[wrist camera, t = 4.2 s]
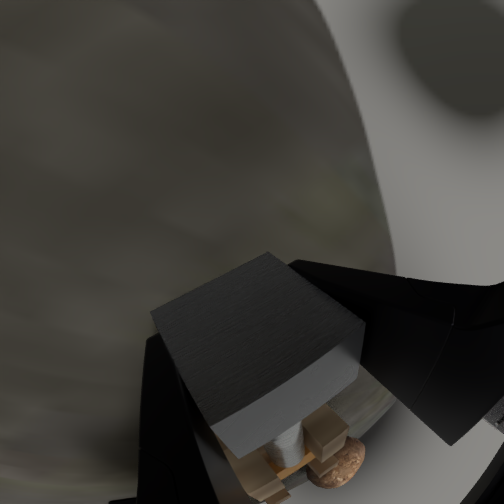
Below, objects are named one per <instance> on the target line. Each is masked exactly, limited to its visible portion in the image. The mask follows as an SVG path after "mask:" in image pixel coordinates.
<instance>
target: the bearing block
mask: <svg viewBox="0 0 504 504" xmlns="http://www.w3.org/2000/svg"><path fill="white" fill-rule="evenodd" d="M302 428H303V437H304V445H305V446H306V447H307V448H308V449H309V450H310V451H311V452H312V454H313V455H314V456H315V457H316V458H314V459H313V460H311V461H310V462H308V463H307V464H308V465H309V467H310V468H311V469H312V470H313V471H314V472H315V473H316V474H317V475H318V476H319V477H322V476H323V475H324V474H326V473H327V472H329V471H330V470H331V469H333V468H334V467H335V466H337V465H338V462H339V460H338V459H337V458H336V457H335V456H334V455H333V454H335V453H336V452H337V451H338V450H340V449H341V448H342V447H344V443H345V440H346V437H347V434H348V430H349V426H348V425H347V424H346V423H345V422H344V421H343V420H342V419H341V418H340V417H339V416H338V415H337V414H336V413H335V412H334V411H333V410H332V409H331V408H330V407H329V406H328V405H327V404H326V403H325V404H323V405H322V406H321V407H319V408H318V409H317V410H315V411H314V412H312V413H311V414H310V415H308V416H307V417H305V418H304V419H303V420H302ZM214 433H215V432H214ZM215 435H216V434H215ZM216 437H217V439H218V441H219V443H220V445H221V447H222V449H223V451H224V453H225V455H226V457H227V459H228V461H229V463H230V465H231V467H232V469H233V470H234V472H235V474H236V476H237V478H238V480H239V481H240V483H241V485H242V487H243V488H244V490H245V491H246V493H247V494H248V495H250V496H251V497H253V498H255V499H257V500H258V501H260V502H261V501H263V500H265V501H266V503H267V504H280V503H281V502H283V501H285V500H286V499H288V498H290V497H291V495H290V494H289V493H288V492H287V490H286V489H285V486H284V485H283V483H282V482H281V480H280V479H279V477H278V476H277V475H276V473H275V472H274V471H273V470H272V468H271V467H270V466H269V463H271V462H272V461H271V459H270V458H269V456H268V454H267V452H266V451H265V449H264V447H263V445H262V446H261V447H259V448H257V449H256V450H254V451H252V452H251V453H249V454H247V455H245V456H243V457H242V458H240V459H238V458H237V457H236V456H235V455H234V454H233V453H232V451H231V450H230V449H229V448H228V447H227V446H226V445H225V444H224V443H223V442H222V440H221V439H220V438H219V437H218V436H217V435H216Z"/></svg>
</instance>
